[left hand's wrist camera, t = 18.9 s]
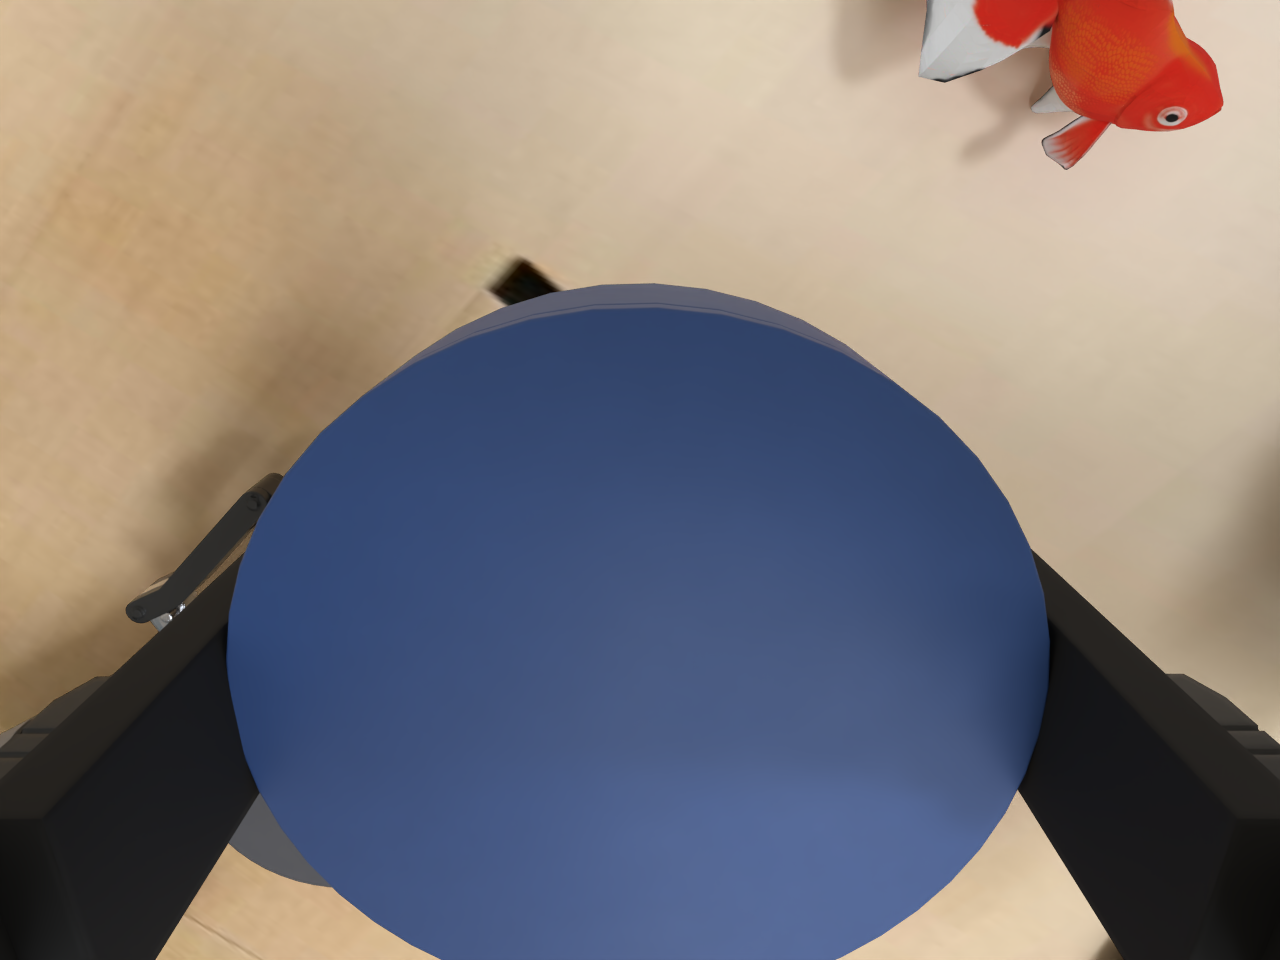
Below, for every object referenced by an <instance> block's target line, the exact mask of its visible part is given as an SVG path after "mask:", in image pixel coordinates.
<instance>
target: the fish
mask: <svg viewBox="0 0 1280 960" xmlns="http://www.w3.org/2000/svg"><path fill="white" fill-rule="evenodd" d="M1032 47H1045V48H1049V49H1050V50H1049V70H1050V76H1051V80H1052V83H1053V86H1052V87H1051V88H1050V89H1049V90H1048V91H1047V92H1046V93H1045V94H1044V95H1043V96H1042V97H1041V98H1040V99H1039V100H1038V101H1037V102H1036V103H1035V104H1034V105H1033V106H1032V107H1031V110H1032V111H1033V112H1034V113H1050V112H1058V111H1074V112H1075V113H1077V114H1079V115H1081V117H1079V118H1077V119H1076V120H1074V121H1072V122H1071V123H1069V124H1068V125H1066V126H1065V127H1064V128H1062V129H1061V130H1059V131H1057V132H1055V133H1054V134H1051V135H1049V136H1047V137H1045V138H1044V139H1043V140H1042V146H1043V148H1044V151H1045V153H1046V155H1047V156H1048V157H1050V158H1051V159H1053V160H1054V161H1056V162H1057V163H1058V164H1059V165H1061V166H1062V167H1063V168H1064V169H1066V170H1067V169H1069V168H1071V167H1072V166H1074V165H1075V164H1076V163H1077V162H1078V161H1079V160H1080V159H1081V158H1082V157H1083V156H1084V155H1085V154H1086V153H1087V152H1088V151H1089V150H1090V148H1091V147H1092V146H1093V145H1094V143H1095V142H1096V141H1097V140H1098V139H1099V137H1100V136H1101V135H1102V134H1103V133H1104V131H1105V130H1106V129H1107V128H1108V127H1109V125H1110V124H1111V123H1112V124H1116V126H1118V127H1120V128H1126V129H1137V130H1144V131H1173V130H1179V129H1184V128H1187V127H1190V126H1193V125H1195V124H1198V123H1200V122H1202V121H1204V120H1206V119H1208V118H1210V117H1211V116H1213V115H1215V114H1216V113H1218V112H1219V111H1221V107H1222V106H1223V97H1222V93H1221V90H1220V85H1219V79H1218V74H1217V69H1216V65H1215V63H1214V62H1213V60H1212V58H1211V57H1210V56H1209V55H1208V53H1207V52H1206V51H1205V50H1204V49H1203V48H1202V47H1201V46H1199V45H1198V44H1196V43H1195V42H1193V41H1192V40H1190V39H1188V38H1186V36H1185V35H1184V33H1183V31H1182V29H1181V27H1180V25H1179V23H1178V21H1177V19H1176V18H1175V16H1174V8H1173V3H1172V0H927V13H926V20H925V28H924V35H923V43H922V51H921V60H920V68H919V77H923V78H927V79H931V80H936V81H940V82H944V83H945V82H948V81H951V80H954V79H957V78H960V77H963V76H965V75H968V74H971V73H974V72H977V71H980V70H982V69H985V68H987V67H989V66H991V65H993V64H996V63H998V62H1000V61H1002V60H1004V59H1006V58H1007V57H1009V56H1011V55H1012V54H1014V53H1016V52H1018V51H1019V50H1021V49H1023V48H1032Z"/></svg>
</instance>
